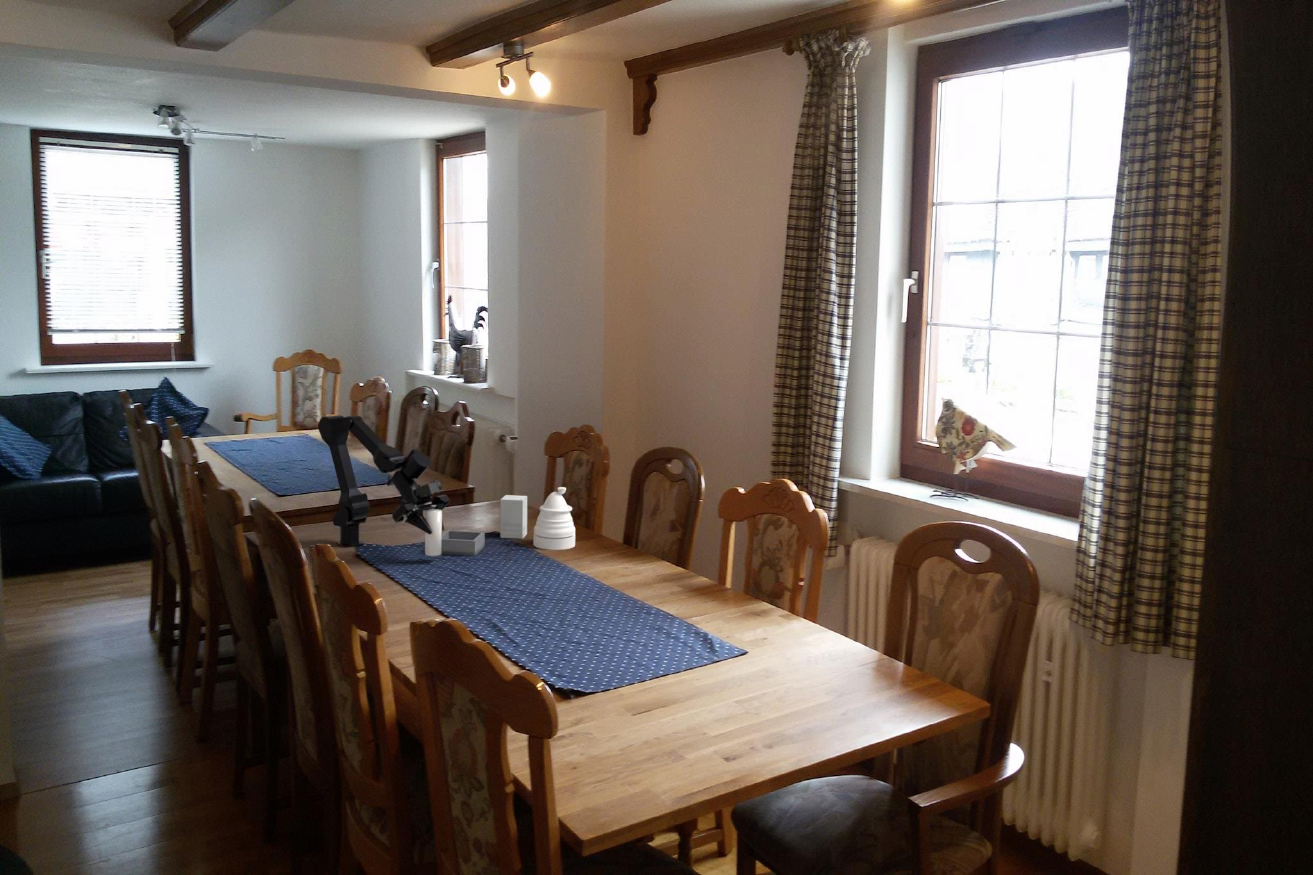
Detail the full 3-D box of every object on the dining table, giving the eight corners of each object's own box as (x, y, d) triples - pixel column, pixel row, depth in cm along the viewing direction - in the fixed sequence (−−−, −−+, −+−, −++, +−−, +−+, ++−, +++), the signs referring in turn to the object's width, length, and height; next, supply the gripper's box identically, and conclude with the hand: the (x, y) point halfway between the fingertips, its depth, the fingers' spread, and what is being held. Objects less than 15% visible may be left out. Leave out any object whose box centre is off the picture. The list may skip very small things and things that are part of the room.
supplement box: (527, 534, 338) (528, 495, 337) (522, 539, 331) (523, 499, 329) (505, 532, 339) (505, 494, 337) (499, 538, 332) (500, 498, 330)
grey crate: (436, 553, 309) (436, 538, 309) (447, 544, 321) (447, 530, 320) (474, 556, 308) (475, 541, 308) (484, 546, 320) (484, 532, 319)
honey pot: (578, 541, 331) (579, 485, 329) (571, 551, 319) (572, 492, 316) (538, 538, 333) (539, 482, 330) (529, 548, 320) (530, 490, 318)
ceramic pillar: (422, 553, 300) (422, 510, 299) (436, 551, 303) (437, 508, 302) (429, 556, 297) (429, 513, 295) (444, 554, 300) (444, 511, 298)
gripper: (400, 475, 291) (429, 520, 287) (446, 467, 307) (474, 509, 303) (379, 499, 296) (407, 544, 292) (425, 490, 312) (453, 532, 308)
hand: (437, 531), depth 298 cm, fingers closed on ceramic pillar, 5 cm apart
